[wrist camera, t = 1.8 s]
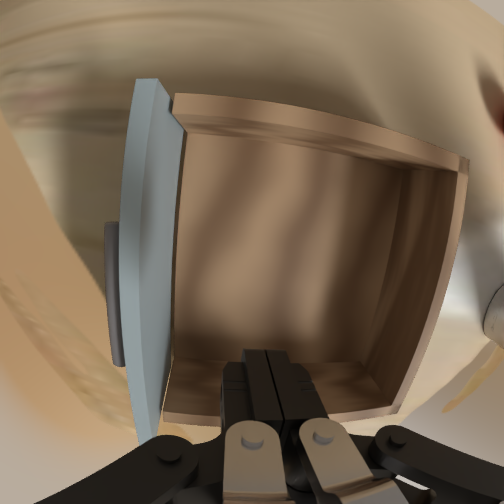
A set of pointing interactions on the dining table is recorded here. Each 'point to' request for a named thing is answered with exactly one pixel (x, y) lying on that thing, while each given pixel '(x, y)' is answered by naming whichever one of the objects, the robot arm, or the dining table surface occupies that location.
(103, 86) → the dining table surface
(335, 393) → the crate
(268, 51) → the dining table surface
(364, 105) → the dining table surface
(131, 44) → the dining table surface
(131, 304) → the rectangular panel
